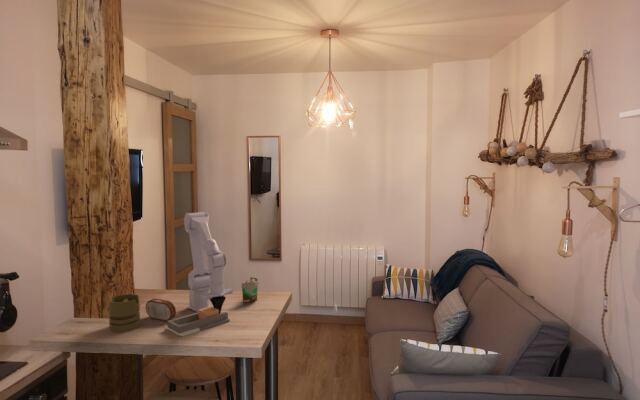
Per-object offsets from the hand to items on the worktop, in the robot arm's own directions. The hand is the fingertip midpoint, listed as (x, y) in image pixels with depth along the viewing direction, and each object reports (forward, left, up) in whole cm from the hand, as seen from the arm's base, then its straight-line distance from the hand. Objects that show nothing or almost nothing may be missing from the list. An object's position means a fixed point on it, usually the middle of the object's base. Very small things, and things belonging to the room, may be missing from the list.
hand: (217, 313), depth 180 cm
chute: (0, -9, -2) cm, 10 cm away
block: (0, -4, -1) cm, 5 cm away
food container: (-9, +25, -3) cm, 27 cm away
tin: (-18, -17, -3) cm, 25 cm away
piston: (-20, -31, -3) cm, 37 cm away
